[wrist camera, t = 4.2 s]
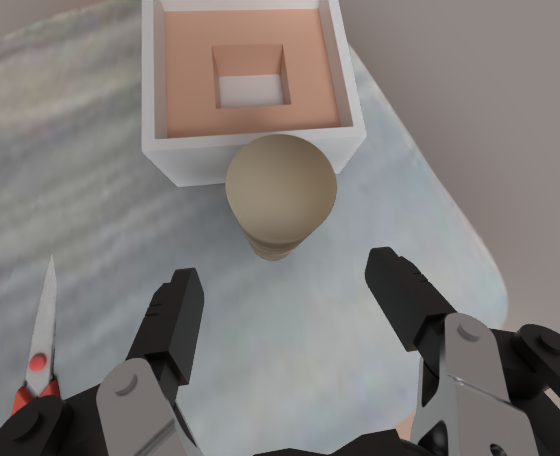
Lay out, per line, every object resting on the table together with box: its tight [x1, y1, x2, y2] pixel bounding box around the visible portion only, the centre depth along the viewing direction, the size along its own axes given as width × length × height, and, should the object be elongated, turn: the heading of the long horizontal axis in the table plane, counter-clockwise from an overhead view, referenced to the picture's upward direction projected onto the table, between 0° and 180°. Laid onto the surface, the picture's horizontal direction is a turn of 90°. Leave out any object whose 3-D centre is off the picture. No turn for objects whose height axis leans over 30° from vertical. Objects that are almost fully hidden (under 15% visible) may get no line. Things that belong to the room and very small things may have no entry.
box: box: [142, 0, 367, 187], centre depth 19 cm, size 15×15×6 cm
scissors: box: [12, 255, 60, 415], centre depth 16 cm, size 8×21×2 cm, turn 19°
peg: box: [225, 134, 337, 261], centre depth 14 cm, size 4×4×12 cm
